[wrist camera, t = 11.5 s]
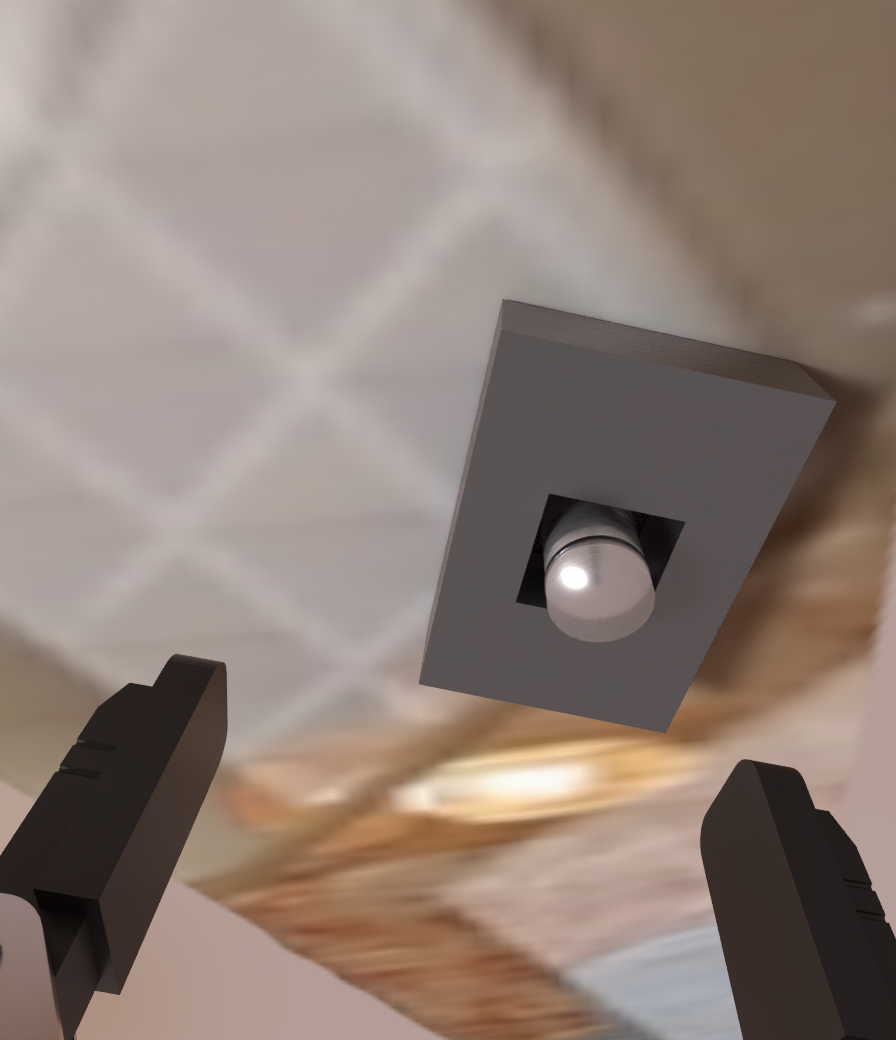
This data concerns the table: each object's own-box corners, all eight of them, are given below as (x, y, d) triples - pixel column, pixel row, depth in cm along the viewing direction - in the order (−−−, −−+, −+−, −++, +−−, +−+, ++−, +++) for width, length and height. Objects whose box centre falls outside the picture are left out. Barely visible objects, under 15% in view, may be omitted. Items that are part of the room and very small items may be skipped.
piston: (552, 462, 36) (562, 546, 30) (642, 481, 37) (672, 569, 30) (529, 538, 39) (533, 631, 32) (613, 555, 39) (635, 652, 32)
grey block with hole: (502, 299, 32) (501, 329, 28) (794, 362, 33) (836, 401, 28) (428, 625, 43) (418, 684, 38) (650, 670, 43) (665, 733, 39)
